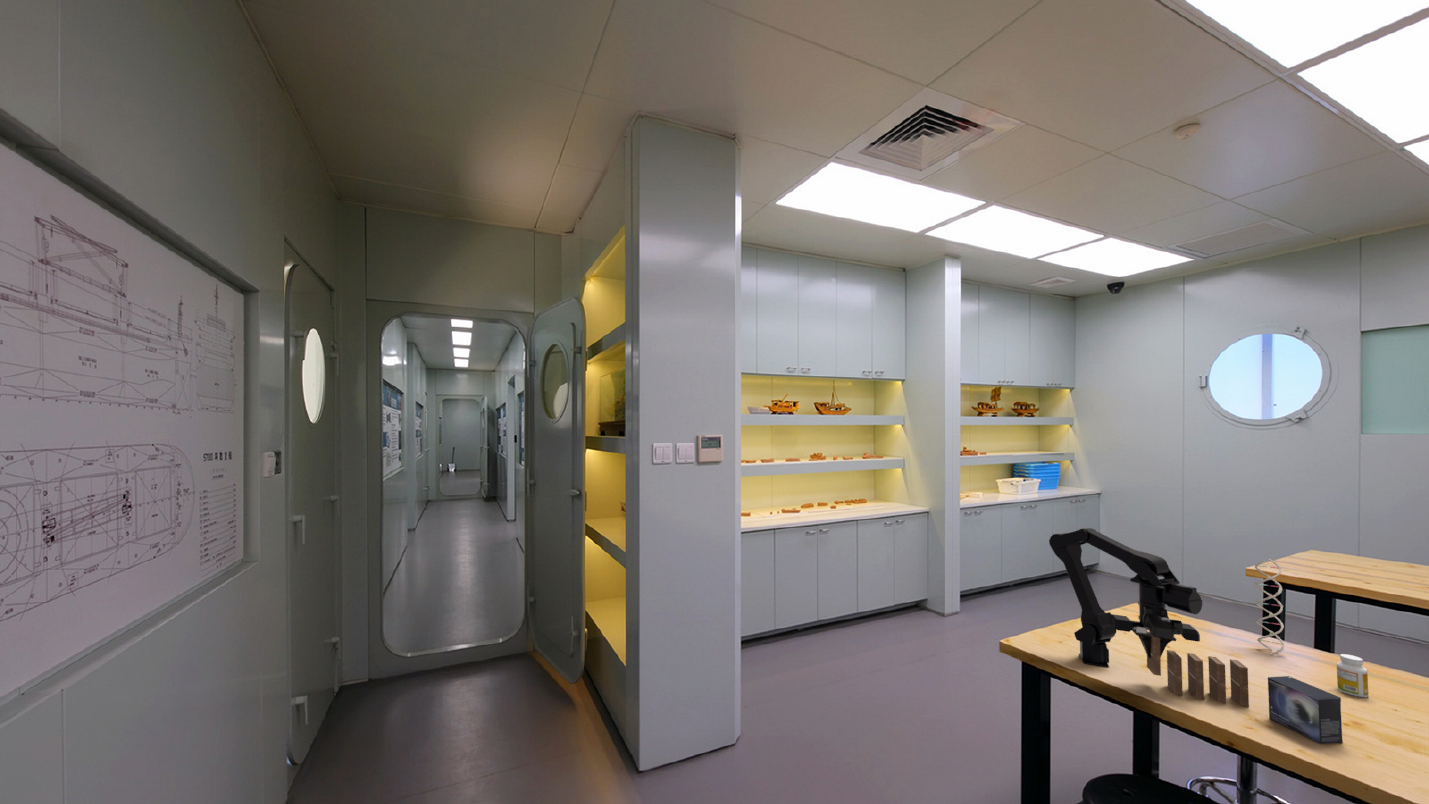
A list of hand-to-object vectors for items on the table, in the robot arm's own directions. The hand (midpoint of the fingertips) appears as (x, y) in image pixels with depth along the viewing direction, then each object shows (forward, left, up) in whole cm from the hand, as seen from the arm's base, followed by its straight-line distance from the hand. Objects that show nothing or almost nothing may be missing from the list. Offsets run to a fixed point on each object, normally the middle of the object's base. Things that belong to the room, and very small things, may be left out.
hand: (1153, 658), depth 145 cm
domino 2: (+5, 0, -8) cm, 9 cm away
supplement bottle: (+50, +20, -8) cm, 54 cm away
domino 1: (0, 0, -4) cm, 4 cm away
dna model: (+44, +45, -8) cm, 63 cm away
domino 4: (+14, 0, -8) cm, 16 cm away
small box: (+26, -11, -8) cm, 29 cm away
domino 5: (+18, 0, -8) cm, 20 cm away
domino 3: (+9, 0, -8) cm, 12 cm away
